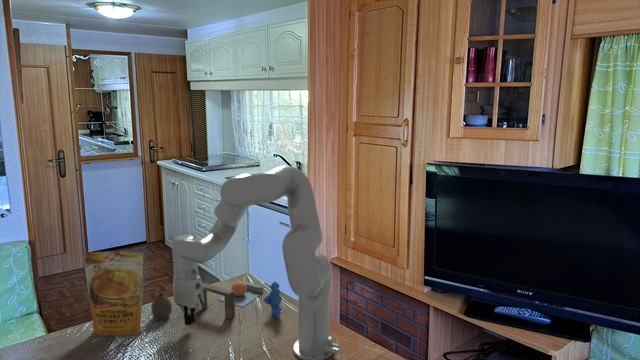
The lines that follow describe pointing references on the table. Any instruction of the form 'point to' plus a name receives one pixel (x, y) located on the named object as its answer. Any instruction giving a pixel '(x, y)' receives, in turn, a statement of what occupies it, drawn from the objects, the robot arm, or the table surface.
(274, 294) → the blue lumpy cluster
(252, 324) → the table surface
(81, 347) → the table surface
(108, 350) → the table surface
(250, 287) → the stopper wall
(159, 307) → the vase
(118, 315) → the pancake mix bag
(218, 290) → the bridge
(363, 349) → the table surface
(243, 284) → the ball
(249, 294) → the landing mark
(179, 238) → the robot arm
